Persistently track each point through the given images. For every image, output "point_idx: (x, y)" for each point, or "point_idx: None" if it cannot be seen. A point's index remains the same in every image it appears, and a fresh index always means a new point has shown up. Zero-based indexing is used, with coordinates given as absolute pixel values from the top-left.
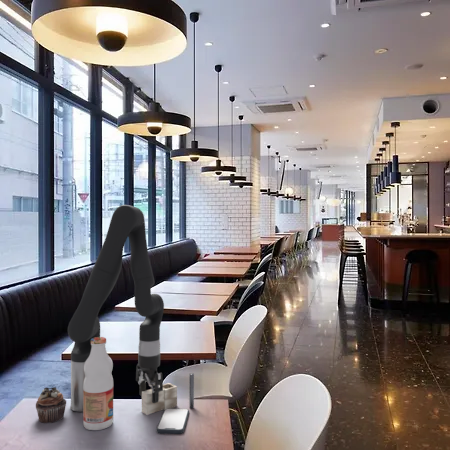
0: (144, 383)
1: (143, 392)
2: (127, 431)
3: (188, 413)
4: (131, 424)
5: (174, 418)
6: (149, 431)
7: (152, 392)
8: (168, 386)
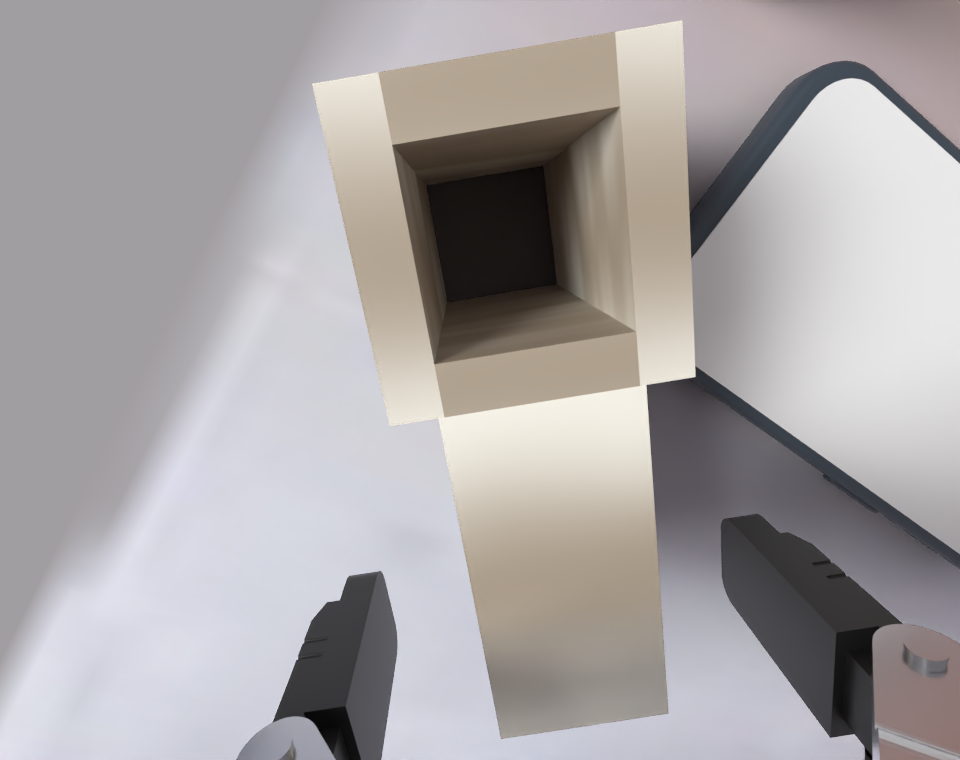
0: (336, 743)
1: (544, 725)
2: (762, 727)
3: (913, 114)
4: (672, 676)
5: (938, 350)
6: (888, 599)
7: (850, 734)
8: (402, 160)
